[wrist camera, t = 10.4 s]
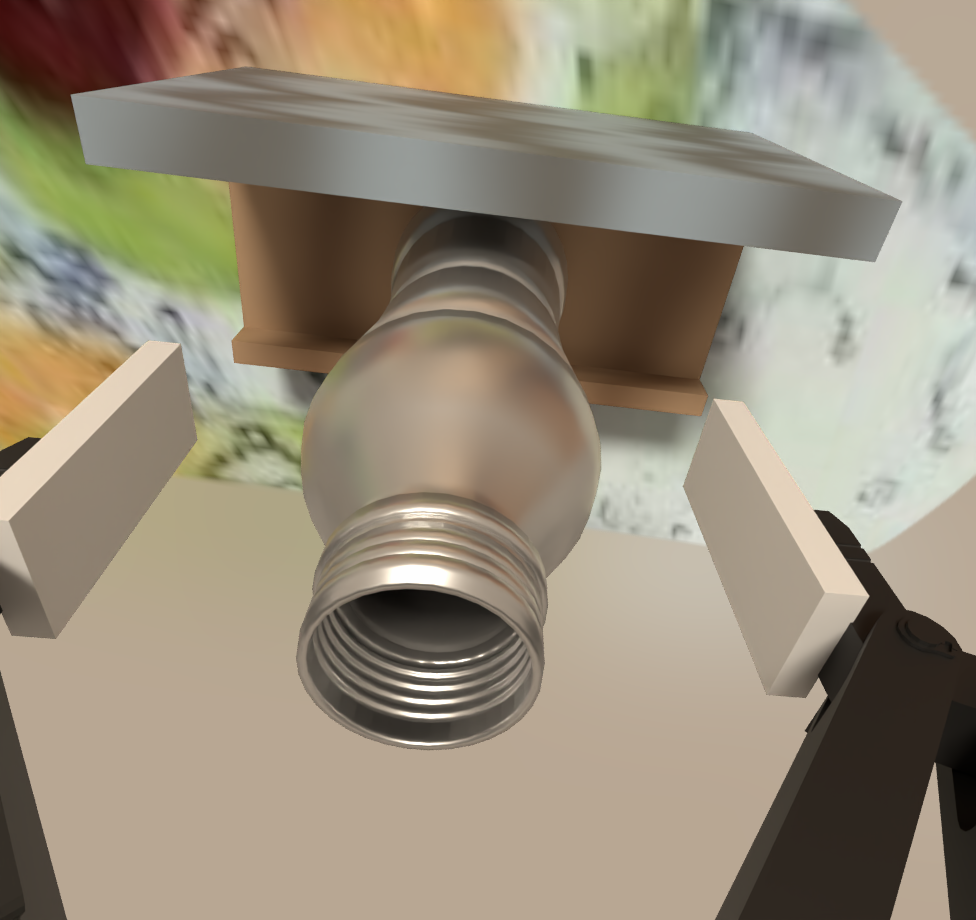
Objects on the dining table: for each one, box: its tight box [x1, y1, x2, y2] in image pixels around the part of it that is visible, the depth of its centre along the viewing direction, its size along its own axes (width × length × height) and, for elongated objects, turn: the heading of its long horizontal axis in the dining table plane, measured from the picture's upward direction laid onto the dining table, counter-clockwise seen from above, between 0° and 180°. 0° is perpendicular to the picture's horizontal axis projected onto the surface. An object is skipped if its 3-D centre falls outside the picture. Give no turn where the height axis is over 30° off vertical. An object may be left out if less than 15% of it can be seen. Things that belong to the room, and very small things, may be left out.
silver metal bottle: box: [296, 206, 601, 750], centre depth 18 cm, size 6×7×20 cm
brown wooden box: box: [71, 67, 902, 416], centre depth 23 cm, size 20×10×12 cm, turn 84°
